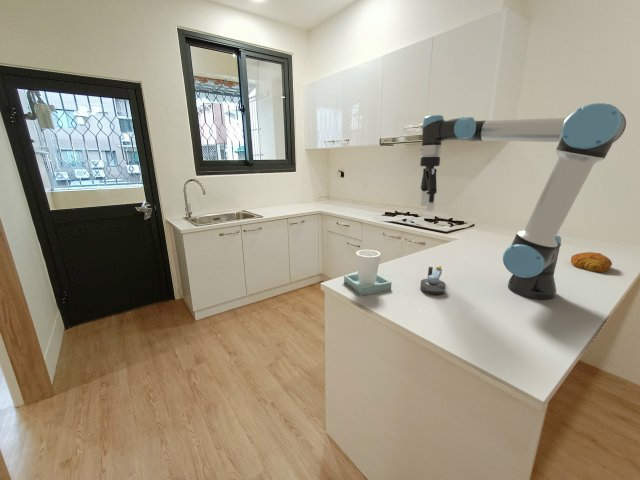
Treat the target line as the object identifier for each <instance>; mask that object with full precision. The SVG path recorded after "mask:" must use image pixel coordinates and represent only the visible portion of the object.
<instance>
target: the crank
mask: <svg viewBox="0 0 640 480" xmlns="http://www.w3.org/2000/svg"><path fill="white" fill-rule="evenodd" d="M433 270H434V271H432V275H429V276H428V275H427V279H428V283H430V284H439V280H440V278H441V275H442V273H443V268H442V266H441V265H436V266H435V268H434V269H433Z"/></svg>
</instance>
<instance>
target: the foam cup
mask: <svg viewBox="0 0 640 480" xmlns="http://www.w3.org/2000/svg"><path fill="white" fill-rule="evenodd" d="M355 260H356V265H357V273H358V277H359V284H360V285H361V286H363V287H365V286H370V285H375V282H376V277H377V274H378V270H379V266H380V261H381V252H379V251H378V250H373V249H361V250H358V251H356V252H355Z"/></svg>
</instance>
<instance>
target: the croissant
mask: <svg viewBox="0 0 640 480" xmlns="http://www.w3.org/2000/svg"><path fill="white" fill-rule="evenodd" d="M570 263H571V264H572V265H573V266H574V267H575V268H577V269H581V270H584V269H585V271H589V272H595V273H596V272H597V273H605V272H606V271H609V270H610V269H611V267H612V265H613V263H612V260H611V259H610V258H609V257H608V256H606V255H604V254H602V253H601V252H593V251H586V252H580V253H576V254H573V255H571V259H570Z"/></svg>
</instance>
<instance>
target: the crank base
mask: <svg viewBox="0 0 640 480" xmlns="http://www.w3.org/2000/svg"><path fill="white" fill-rule="evenodd" d="M433 270H434V269H433V266H428V269H427V271H428V272H427V277H428V276H429V275H432V273H433V272H434V271H433ZM420 291H421V292H423V294H427V295H430V296H442V295H445V293H446V283H445V282H444V281H443V280H440V279H439V284H430V283H428V278H423V279H421V281H420Z"/></svg>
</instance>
